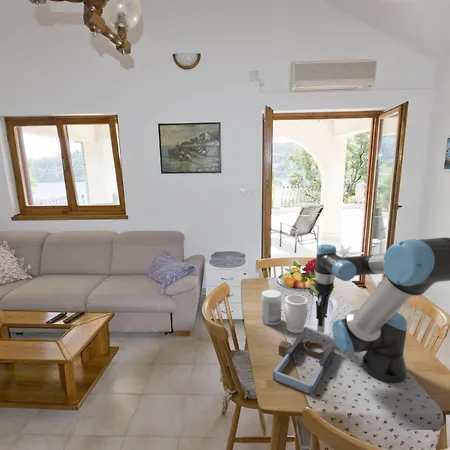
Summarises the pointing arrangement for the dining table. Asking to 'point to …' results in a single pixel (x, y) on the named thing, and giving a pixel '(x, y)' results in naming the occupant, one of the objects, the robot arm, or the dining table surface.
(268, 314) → the supplement tub
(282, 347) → the brown wooden cube
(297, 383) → the tray
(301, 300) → the jar
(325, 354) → the slot rail
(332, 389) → the dining table surface
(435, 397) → the dining table surface
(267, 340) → the dining table surface
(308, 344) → the bracelet
